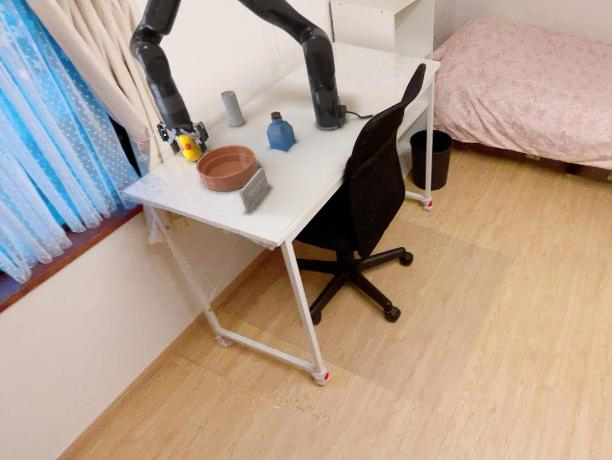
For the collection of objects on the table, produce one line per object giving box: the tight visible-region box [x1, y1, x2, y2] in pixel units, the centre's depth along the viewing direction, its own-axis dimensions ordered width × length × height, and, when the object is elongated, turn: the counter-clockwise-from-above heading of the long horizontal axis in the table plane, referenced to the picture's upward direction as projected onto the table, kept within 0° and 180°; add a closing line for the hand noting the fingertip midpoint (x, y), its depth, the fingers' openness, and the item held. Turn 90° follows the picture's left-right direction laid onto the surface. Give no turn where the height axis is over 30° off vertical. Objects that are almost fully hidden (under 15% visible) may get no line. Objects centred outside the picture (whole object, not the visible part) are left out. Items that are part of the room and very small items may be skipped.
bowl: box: [195, 144, 260, 192], centre depth 136 cm, size 17×17×6 cm
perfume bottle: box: [265, 111, 297, 152], centre depth 146 cm, size 6×6×12 cm
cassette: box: [239, 167, 270, 213], centre depth 126 cm, size 12×2×8 cm, turn 166°
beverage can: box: [220, 90, 245, 128], centre depth 155 cm, size 5×5×12 cm
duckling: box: [178, 135, 203, 162], centre depth 140 cm, size 11×5×10 cm, turn 25°
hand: (191, 151), depth 142 cm, fingers open, 8 cm apart
